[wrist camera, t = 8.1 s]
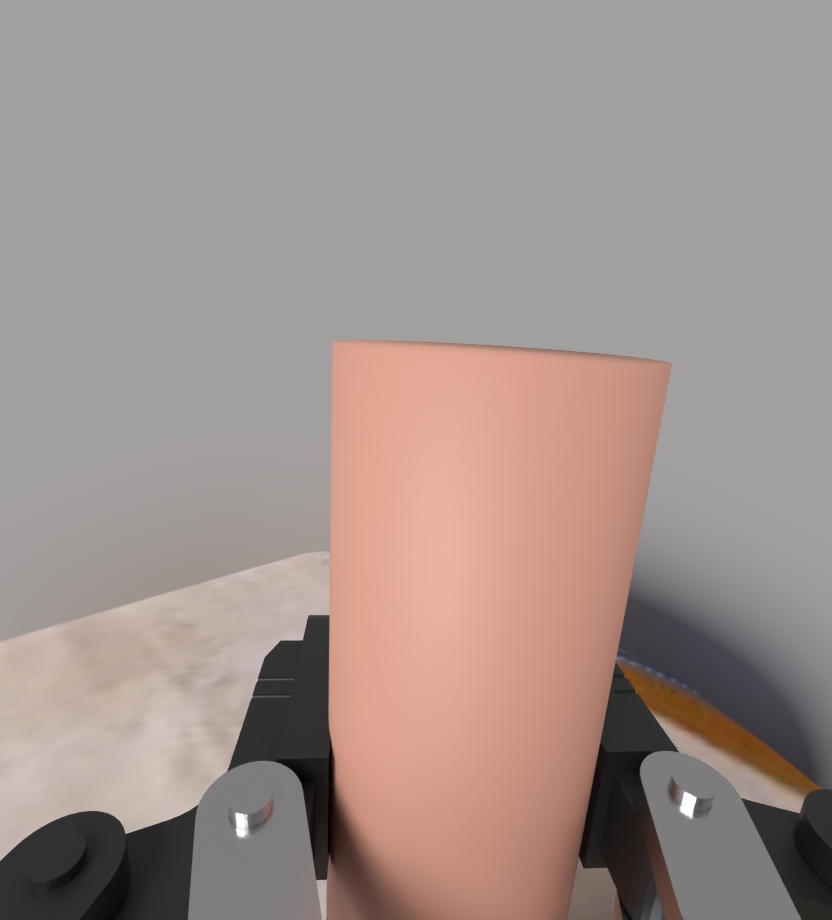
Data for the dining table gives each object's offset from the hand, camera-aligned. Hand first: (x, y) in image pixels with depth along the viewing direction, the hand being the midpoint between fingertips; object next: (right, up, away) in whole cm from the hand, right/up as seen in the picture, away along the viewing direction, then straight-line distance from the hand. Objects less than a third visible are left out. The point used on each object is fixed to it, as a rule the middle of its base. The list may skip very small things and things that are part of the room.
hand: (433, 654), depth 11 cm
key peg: (0, -10, 0) cm, 10 cm away
